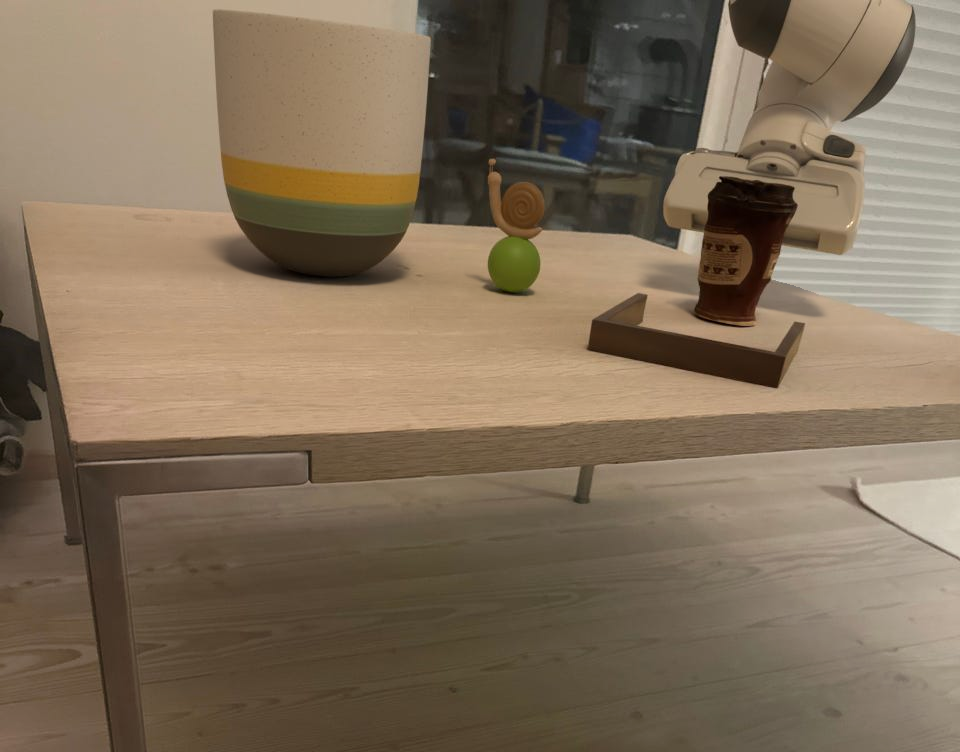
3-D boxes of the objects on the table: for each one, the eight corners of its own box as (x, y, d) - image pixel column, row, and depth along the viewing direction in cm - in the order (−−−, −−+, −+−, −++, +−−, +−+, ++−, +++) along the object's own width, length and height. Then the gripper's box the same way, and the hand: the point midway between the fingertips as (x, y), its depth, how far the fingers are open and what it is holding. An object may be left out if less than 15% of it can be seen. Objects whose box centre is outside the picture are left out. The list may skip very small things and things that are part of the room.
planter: (298, 247, 106) (298, 24, 95) (448, 277, 99) (467, 42, 88) (180, 265, 90) (164, 2, 79) (349, 303, 84) (357, 22, 73)
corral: (632, 319, 91) (637, 292, 89) (797, 350, 86) (805, 323, 85) (587, 349, 78) (592, 319, 77) (777, 388, 74) (786, 356, 72)
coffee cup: (727, 332, 90) (762, 185, 83) (665, 312, 95) (692, 172, 88) (781, 327, 95) (818, 187, 88) (719, 308, 100) (749, 175, 93)
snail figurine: (485, 282, 99) (498, 157, 93) (542, 292, 98) (559, 166, 91) (468, 289, 95) (480, 159, 88) (528, 300, 93) (544, 168, 87)
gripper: (683, 123, 98) (643, 230, 96) (882, 149, 93) (845, 264, 90) (683, 168, 104) (645, 270, 102) (870, 195, 99) (835, 304, 96)
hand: (740, 268), depth 96 cm, fingers closed, pressing on coffee cup
